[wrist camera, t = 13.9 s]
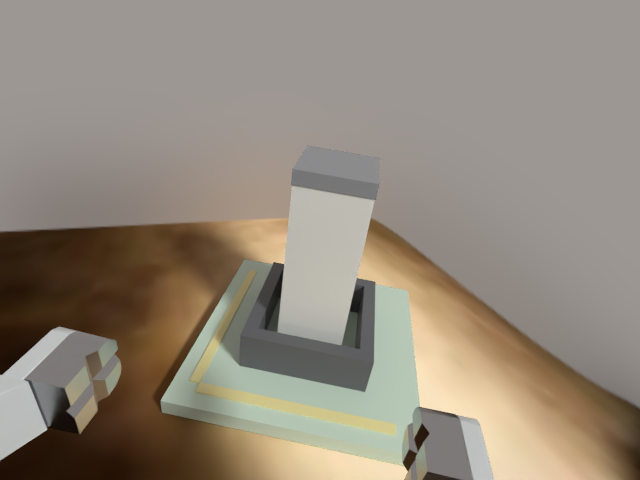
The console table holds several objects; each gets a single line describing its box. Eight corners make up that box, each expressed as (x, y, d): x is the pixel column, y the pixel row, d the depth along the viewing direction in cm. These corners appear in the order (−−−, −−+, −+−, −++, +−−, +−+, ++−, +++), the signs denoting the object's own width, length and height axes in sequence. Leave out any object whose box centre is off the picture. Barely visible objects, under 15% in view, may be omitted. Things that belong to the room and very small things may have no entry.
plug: (274, 350, 23) (292, 168, 17) (290, 303, 27) (309, 142, 21) (338, 363, 23) (379, 184, 17) (344, 314, 27) (379, 155, 21)
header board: (162, 412, 20) (155, 368, 18) (244, 268, 32) (245, 233, 30) (420, 469, 19) (440, 429, 17) (404, 299, 31) (415, 266, 29)
